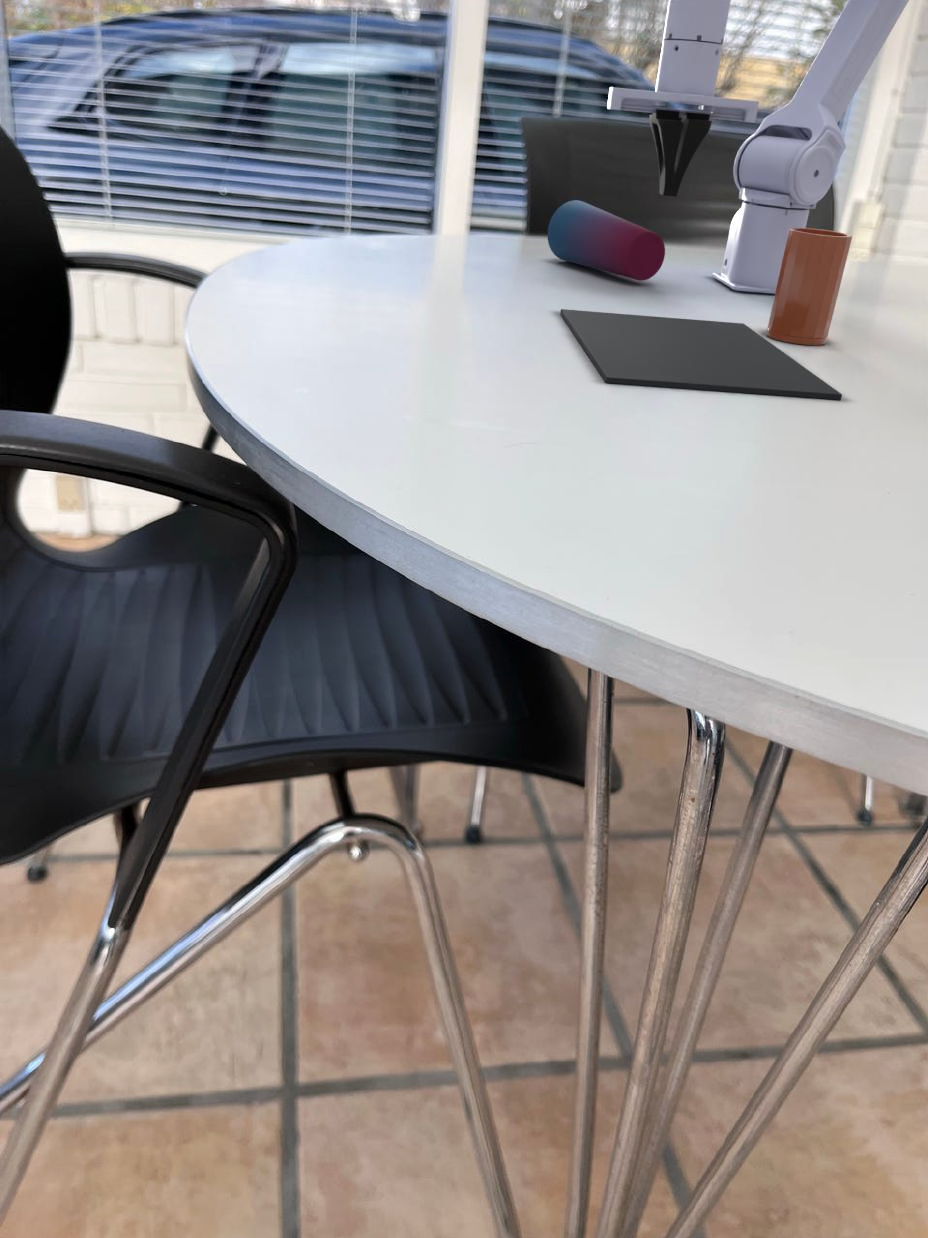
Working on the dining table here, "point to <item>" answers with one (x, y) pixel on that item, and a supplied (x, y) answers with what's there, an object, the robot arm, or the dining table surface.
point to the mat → (690, 355)
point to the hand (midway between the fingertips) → (667, 195)
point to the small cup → (808, 285)
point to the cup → (604, 241)
